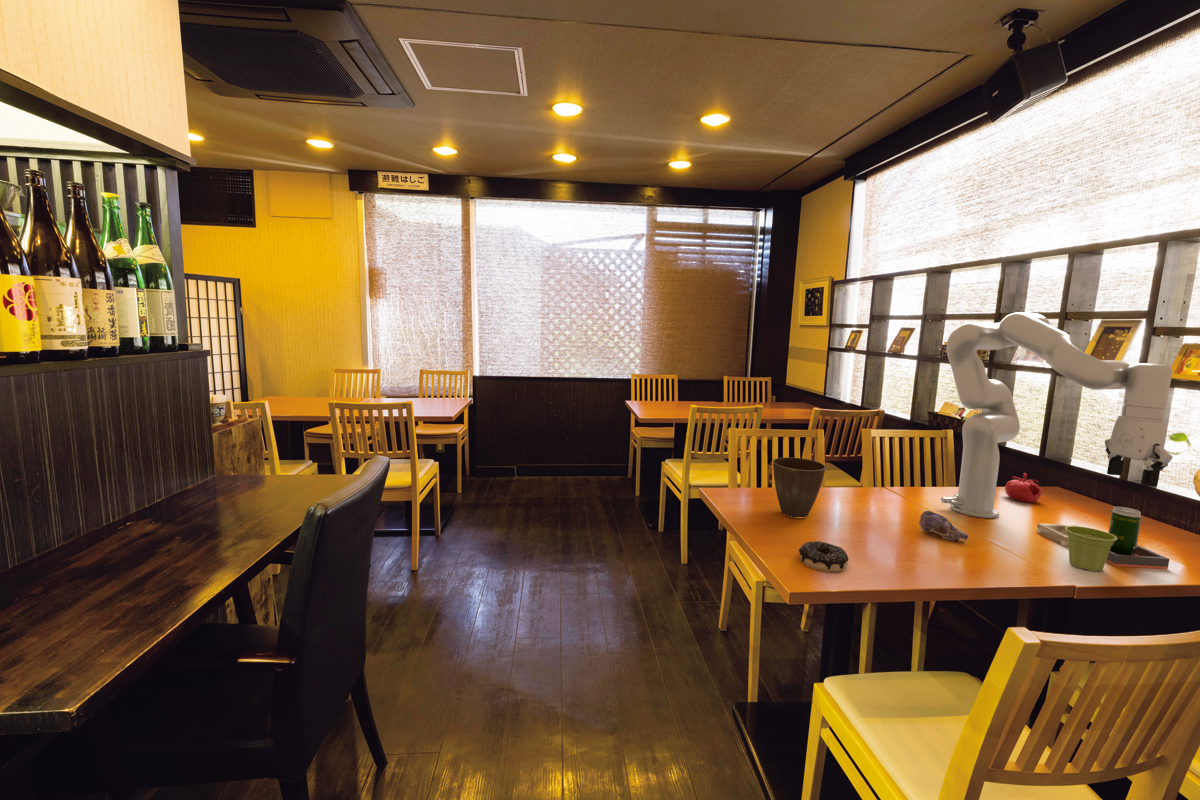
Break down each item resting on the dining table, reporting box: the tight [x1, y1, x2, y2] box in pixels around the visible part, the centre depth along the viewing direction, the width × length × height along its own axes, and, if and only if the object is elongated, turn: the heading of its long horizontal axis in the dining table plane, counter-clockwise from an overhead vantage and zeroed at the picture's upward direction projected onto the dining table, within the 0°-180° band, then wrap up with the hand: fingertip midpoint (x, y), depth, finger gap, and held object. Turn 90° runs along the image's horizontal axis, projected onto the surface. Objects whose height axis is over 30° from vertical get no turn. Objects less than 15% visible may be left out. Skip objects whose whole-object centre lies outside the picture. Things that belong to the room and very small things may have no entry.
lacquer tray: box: [1105, 544, 1170, 570], centre depth 137 cm, size 12×12×3 cm
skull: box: [918, 510, 969, 543], centre depth 148 cm, size 12×8×6 cm, turn 24°
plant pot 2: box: [1065, 525, 1117, 572], centre depth 130 cm, size 9×9×9 cm
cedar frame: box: [1036, 523, 1077, 547], centre depth 148 cm, size 10×10×2 cm
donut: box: [797, 540, 849, 573], centre depth 129 cm, size 11×12×4 cm
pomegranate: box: [1004, 472, 1043, 504], centre depth 183 cm, size 10×10×9 cm
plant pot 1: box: [772, 457, 827, 518], centre depth 161 cm, size 15×15×16 cm
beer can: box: [1108, 506, 1142, 556], centre depth 136 cm, size 5×5×12 cm
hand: (1130, 480), depth 135 cm, fingers open, 9 cm apart
